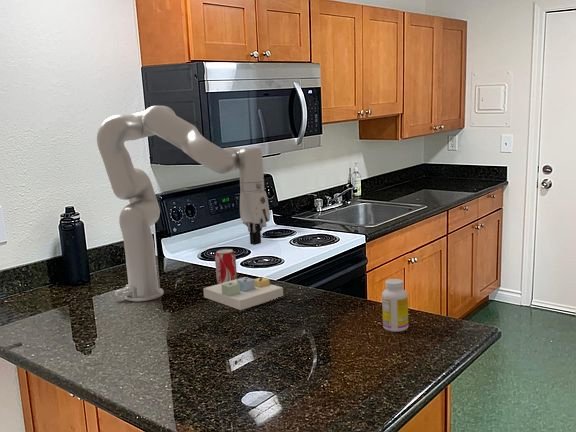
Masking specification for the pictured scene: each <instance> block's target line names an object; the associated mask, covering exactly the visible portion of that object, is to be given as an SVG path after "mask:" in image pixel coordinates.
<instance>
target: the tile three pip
mask: <svg viewBox="0 0 576 432" xmlns="http://www.w3.org/2000/svg"><path fill="white" fill-rule="evenodd" d="M253 279H254V280H255V286H256V287H259V288H261V287H264V286H267V285H270V284H271V283H270V279H269V278H267V277H263V276H261V277H258V278H253Z"/></svg>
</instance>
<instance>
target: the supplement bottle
mask: <svg viewBox="0 0 576 432" xmlns="http://www.w3.org/2000/svg"><path fill="white" fill-rule="evenodd" d="M384 286H385V287H386V288H385V289H384V290H383V291H382V292H381V304H382V305H381V306H382V326H383V328H384V330H386V331H388V332H395V333H397V332H398V333H399V332H404V331H406V330H407V329H409V302H408V301H409V298H408V297H409V296H408V292H407V291H406V290H405V289H403V287H404V280H403V279H400V278H389V279H386V280H385V283H384Z"/></svg>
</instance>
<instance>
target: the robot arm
mask: <svg viewBox="0 0 576 432" xmlns="http://www.w3.org/2000/svg"><path fill="white" fill-rule="evenodd" d="M153 136H157V137H159V138H161V139H162V140H164V141H166V142H168V143H170V144H171V145H173V146H175V147H176V148H178V149H180V150H181V151H182V152H183V153H185V154H186V155H187V156H188V157H190V158H191V159H192V160H193V161H195V162H197V163H198V164H200V165H202V166H204V167H205V168H207V169H209V170H211V171H212V172H214V173H216V174H220V175H223V174H224V175H225V174H229V173H230V172H234V171H239V187H240V191H239V192H240V194H239V215H240V220H241V221H242V224H243V225H245V226H246V227H247V230H248V232H249V243H250V245H253V246H255V245H259V244H261V243H262V238H261V237H262V233H261V232H262V231H263V229H264V228H267V223H269V222H270V220H271V216H270V215H271V214H270V204H269V199H268V194H267V192H266V191H265V178H264V160H263V151H262V149H261V148H259V147H244V148H237V147H235V148H234V147H225V148H222V147H220V146H218V145H216V144H215V143H213V142H211V141H210V140H208V139H207V138H205V137H204V136H203V135H202V134H201V133H200V131H199V130H198V128H197V127H196V126H195V125H194V124H192V123H191V122H188V120H185V119H183V118H181V117H180V116H177V114H176V113H175V111H174V110H173V108H171V107H169V106H166V105H152V106H149V107H148V108H146V109H145V110H144V111H140V112H135V113H129V114H127V113H126V114H124V113H122V114H115V115H112V116H109V117H107V118H106V119H104V121H103V122H102V123H101V124H100V126H99V128H98V130H97V134H96V142H97V143H96V144H97V147H98V151H99V153H100V156H101V159H102V161H103V164H104V168H105V172H106V174H107V177H108V180H109V183H110V185H111V189H112V192H113V194H114V196H115V197H116V198H118V199H119V200H123V201H125V200H126V201H127V200H128V201H129V204H127V205H126V206H124V207H123V208H122V210H121V211H120V213H119V218H118V219H119V221H118V222H119V226H120V231H121V234H122V239H123V246H124V255H125V264H126V265H125V267H126V274H127V281H128V282H127V283H128V284H125V287H123V288H122V289H117V290H114V295H115V296H116V297H119V296H122V297H124V299H125V300H126V301H129V302H146V301H147V302H148V301H152V300H156V299H158V298H161V297H162V296H163V295H164V294H165V293H164V289H163V288H161V287H159V280H158V279H159V278H158V272H157V259H156V250H155V248H156V247H155V242H154V241H155V240H154V235H153V233H152V229H151V226H153V225H154V224H156V223H157V222H158V221H159V219H160V214H161V209H160V205H159V202H158V199H157V195H156V192H155V190H154V187H153V184H152V183H153V182H151V179H150V177H149V175H148V174H147V173H146V172H145V171H144V170H142V169H141V168H138V167H136V168H135V167H134V164H133V162H132V161H133V160H132V157H131V156H130V153H129V151H128V150H127V147H126V146H125V142H128V141H129V142H130V141H135V140H139V139H140V140H141V139H144V138H147V137H153Z"/></svg>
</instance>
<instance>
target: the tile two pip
mask: <svg viewBox="0 0 576 432" xmlns="http://www.w3.org/2000/svg"><path fill="white" fill-rule="evenodd" d="M250 278H251V277H248V278H244V279H240V280H237V283H238V284H239V286H240V291H243V292H247V291H251V290H254V289H255V280H254V279H255V278H251V279H250Z"/></svg>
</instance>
